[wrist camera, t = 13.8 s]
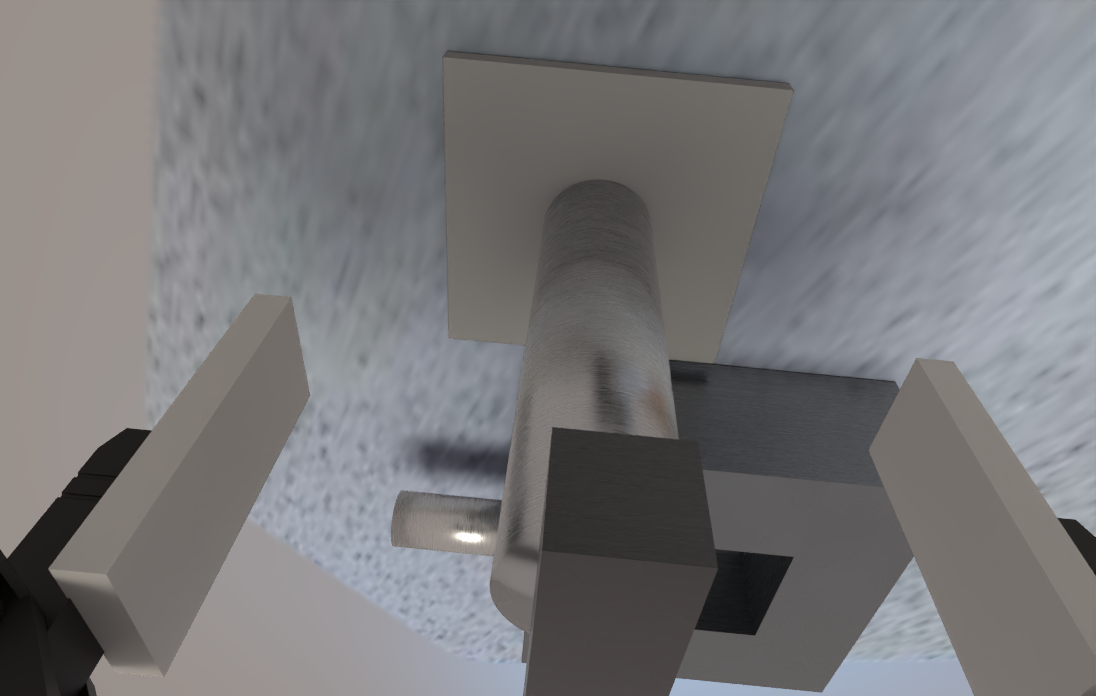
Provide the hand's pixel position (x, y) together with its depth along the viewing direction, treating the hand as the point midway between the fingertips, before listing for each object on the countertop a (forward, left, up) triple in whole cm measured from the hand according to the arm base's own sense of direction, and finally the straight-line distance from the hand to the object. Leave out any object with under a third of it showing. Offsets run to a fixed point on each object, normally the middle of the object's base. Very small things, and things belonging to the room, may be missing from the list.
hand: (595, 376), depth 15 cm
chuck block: (+11, +2, -7) cm, 13 cm away
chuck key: (0, 0, -7) cm, 7 cm away
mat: (0, 0, -7) cm, 7 cm away
